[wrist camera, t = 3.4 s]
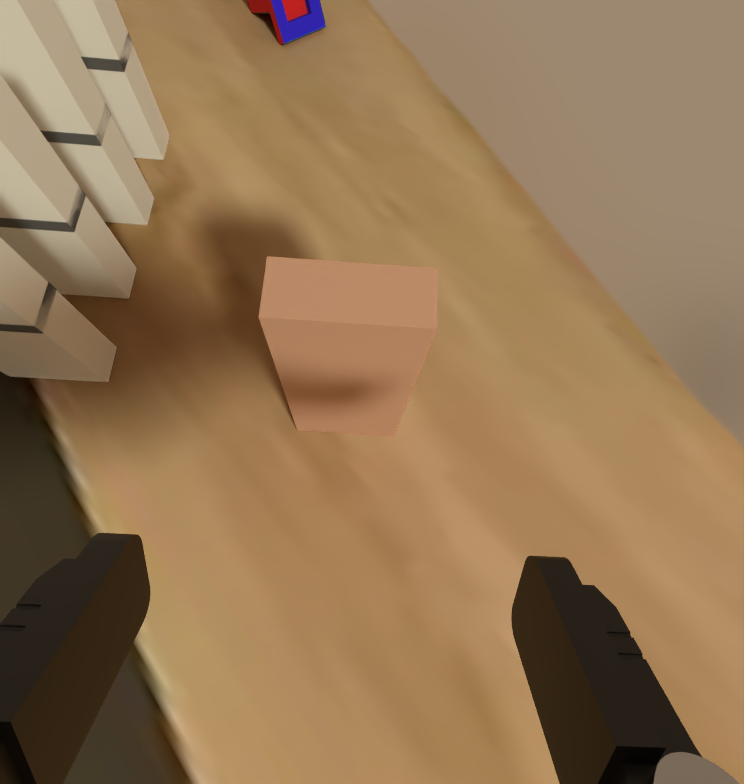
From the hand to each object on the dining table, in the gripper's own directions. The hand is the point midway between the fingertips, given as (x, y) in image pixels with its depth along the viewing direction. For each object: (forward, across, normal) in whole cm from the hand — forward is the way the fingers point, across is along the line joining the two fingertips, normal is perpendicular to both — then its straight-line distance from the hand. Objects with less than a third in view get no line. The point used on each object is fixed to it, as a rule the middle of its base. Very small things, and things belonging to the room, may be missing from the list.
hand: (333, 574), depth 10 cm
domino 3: (+19, +15, -1) cm, 25 cm away
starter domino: (+14, 0, +4) cm, 15 cm away
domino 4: (+23, +15, -4) cm, 28 cm away
